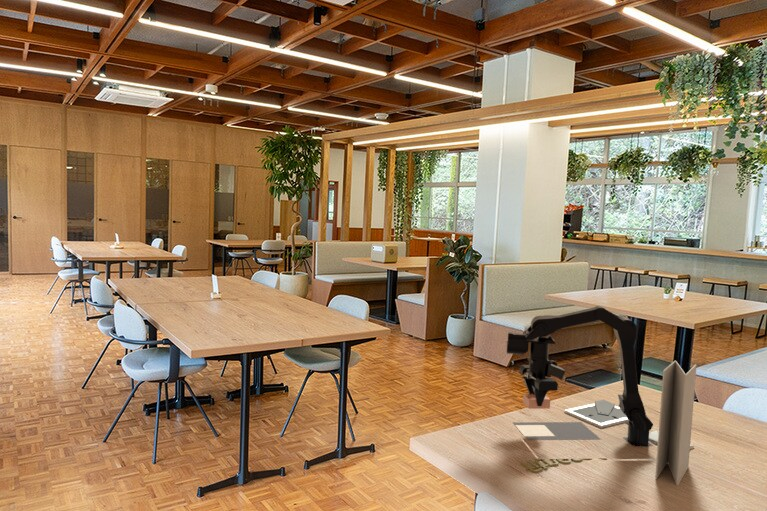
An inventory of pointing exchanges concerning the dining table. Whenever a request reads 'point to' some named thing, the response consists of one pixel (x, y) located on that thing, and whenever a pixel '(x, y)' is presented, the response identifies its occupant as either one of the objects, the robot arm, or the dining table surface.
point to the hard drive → (654, 438)
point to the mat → (555, 431)
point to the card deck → (532, 404)
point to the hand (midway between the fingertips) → (536, 403)
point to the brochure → (675, 420)
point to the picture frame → (599, 414)
